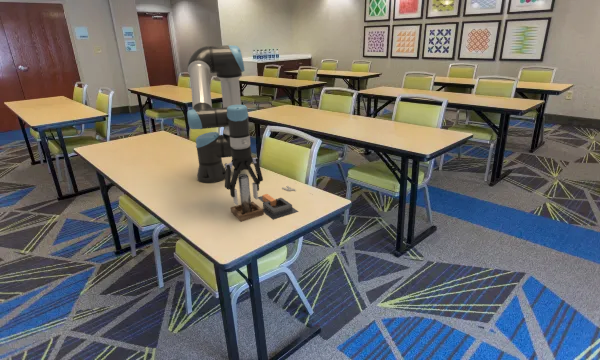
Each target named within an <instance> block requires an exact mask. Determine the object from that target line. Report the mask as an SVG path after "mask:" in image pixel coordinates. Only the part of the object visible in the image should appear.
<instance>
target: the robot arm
mask: <svg viewBox="0 0 600 360" xmlns="http://www.w3.org/2000/svg"><path fill="white" fill-rule="evenodd" d="M243 72H245V64H244V59H243V55H242V51H241V48H240V47H239V46H238V45H230V44H228V45H211V46H210V45H207V46H202V47H200V48H198V49H197V50H195V51H194V52H193V53H192V55H191V56H190V58H189V59H188V62H187V73H188V75H189V77H190V87H191V88H190V89H191V102H192V109H188V110H187V112H186V113H187V114H186V115H187V123H188V127H189V129H191V130H206V129H215V128H224V129H223V131H222V134H219V132H217V131H210V132H206V133H203V134H200V135H198V136H197V137H196V138H195V147H196V151H197V153H196V154H197V159H198V160H197V161H198V168H197V173H196V174H197V175H196V176H197V178H196V179H197V181H198V182H199V183H204V184H209V183H210V184H211V183H218V182H221V181H224V188H225V189H226V190H228V191H229V193H230V194H229V195H230V196H231V198H232V201H233V203H234V205H235V206H238V205H239V202H238V200H239V199H238V192H237V191H238V190H237V189H236V185H237V183H238V177H239V175H241V172H242V171H243V172H244V171H246V170H247V172H248V174H249V175H250V177H251V179H252V181H253V182H252V183H251V184H252V194H253V195H252V196H253V198H254V199H255V200H259V199H258V197H259V195H258V194H259V193H258V192H259V191H260V184H261V182H263V181H264V178H263V173H262V170H261V165H260V158H258V157H256V156H255V157H253V156H252V147H251V135H250V125H249V124H250V122H249V112H248V106H246V105H245V104H242V101H241V89H240V78H242V75H243V74H242V73H243ZM211 74H216V78H217V79H218V80H219V81H220V88H221V98H222V105H223V107H213V104H212V102H213V101H212V95H211V87H210V86H211V85H210V84H211V83H210V78H209V76H210V75H211ZM222 158H231V162H229V163H226V162H225V164H223V159H222ZM252 164H253V166H254V169H255V172H254V170H253V167H252V166H251V165H252ZM232 169H233V174H232ZM255 173H256V174H255Z"/></svg>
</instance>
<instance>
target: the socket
mask: <svg viewBox="0 0 600 360" xmlns="http://www.w3.org/2000/svg"><path fill="white" fill-rule="evenodd" d="M257 200H260V202H262V209H263V212H264V215H266V216H267V217H269V218H270V219H271V220H272V221H274V220H277V219H280V218H283V217H286V216H290V215H292V214H297V213H299V211H298V210H297V209H296V208H294V207H293V204H291V202H288V201H287V200H286V199H284V198H283V197H279V198H275V200H276V205H275V206H271V205H270V202H269V201H267V202H265V201H263V198H262V195H261V196H258V199H257Z"/></svg>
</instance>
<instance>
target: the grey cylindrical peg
mask: <svg viewBox="0 0 600 360" xmlns="http://www.w3.org/2000/svg"><path fill="white" fill-rule="evenodd" d="M249 179H250V178H249V175H248V174H247V173H242V174H241V173H240V174H239V176H238V179H237V181H238V188H239V196H240V205H241V207H242V214H246V213H249V212H252V206H251V202H252V199H251V197H252V196H251V188H250V180H249Z"/></svg>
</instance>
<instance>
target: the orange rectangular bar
mask: <svg viewBox="0 0 600 360" xmlns="http://www.w3.org/2000/svg"><path fill="white" fill-rule="evenodd" d="M261 196H262V198H263V201H265V202H267V201H269V202H270V205H271V206H275V205H276V198H274V197H272V196H271V195H269V194H268V193H265V194H262V195H261Z"/></svg>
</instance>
